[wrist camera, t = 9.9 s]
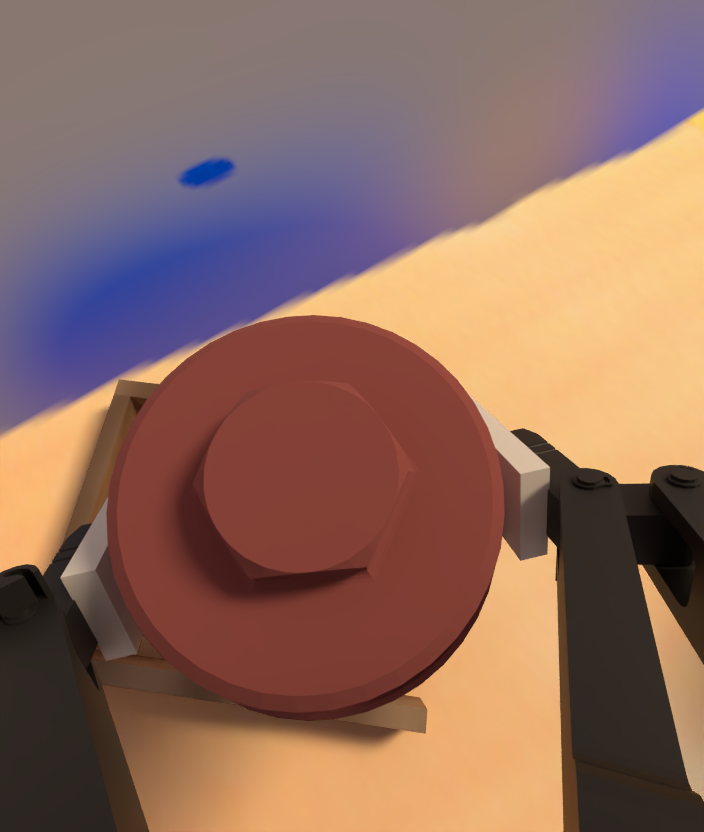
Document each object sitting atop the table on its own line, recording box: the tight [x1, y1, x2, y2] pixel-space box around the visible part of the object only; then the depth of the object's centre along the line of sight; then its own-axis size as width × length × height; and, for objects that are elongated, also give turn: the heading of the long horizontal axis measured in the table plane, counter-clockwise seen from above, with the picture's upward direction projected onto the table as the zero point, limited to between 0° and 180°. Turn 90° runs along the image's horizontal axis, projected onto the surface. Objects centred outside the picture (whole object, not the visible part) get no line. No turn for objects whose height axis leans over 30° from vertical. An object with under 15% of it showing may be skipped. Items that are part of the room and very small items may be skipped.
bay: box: [63, 380, 427, 734], centre depth 26 cm, size 20×16×2 cm
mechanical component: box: [106, 315, 505, 721], centre depth 14 cm, size 12×10×10 cm
